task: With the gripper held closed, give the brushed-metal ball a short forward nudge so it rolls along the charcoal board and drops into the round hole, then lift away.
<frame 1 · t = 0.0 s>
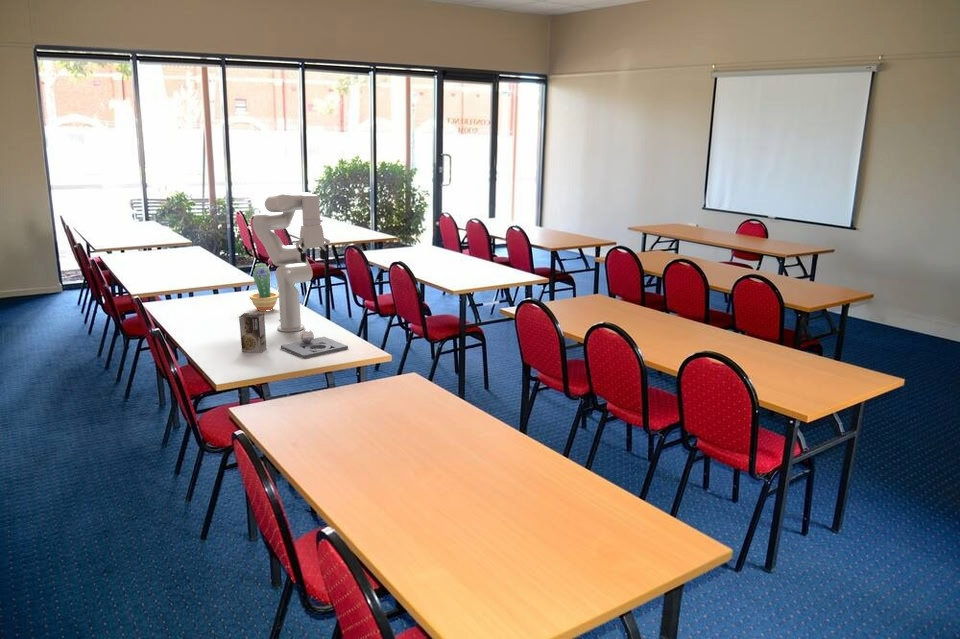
hand: (313, 260, 330), 37 cm above the table, tool pointing down, fingers open, 9 cm apart
coffee box: (254, 350, 321), on the table
hole board: (314, 348, 324), on the table
metal ball: (307, 336, 327), point 4 cm above the table, touching hole board
potted cactus: (265, 310, 393), on the table
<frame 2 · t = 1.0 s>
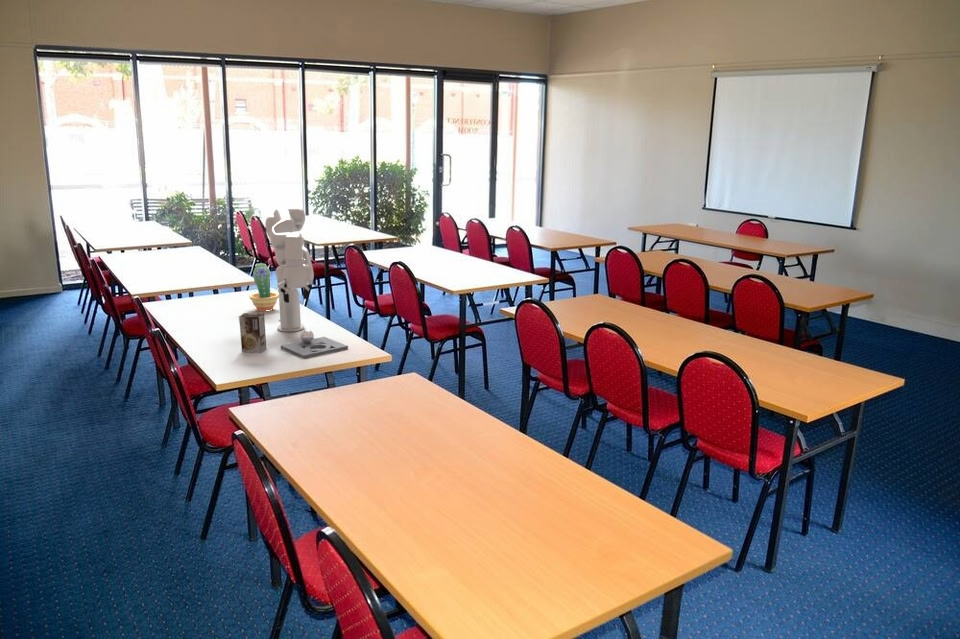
hand: (296, 300, 330), 19 cm above the table, tool pointing down, fingers open, 9 cm apart
nothing on the table moved.
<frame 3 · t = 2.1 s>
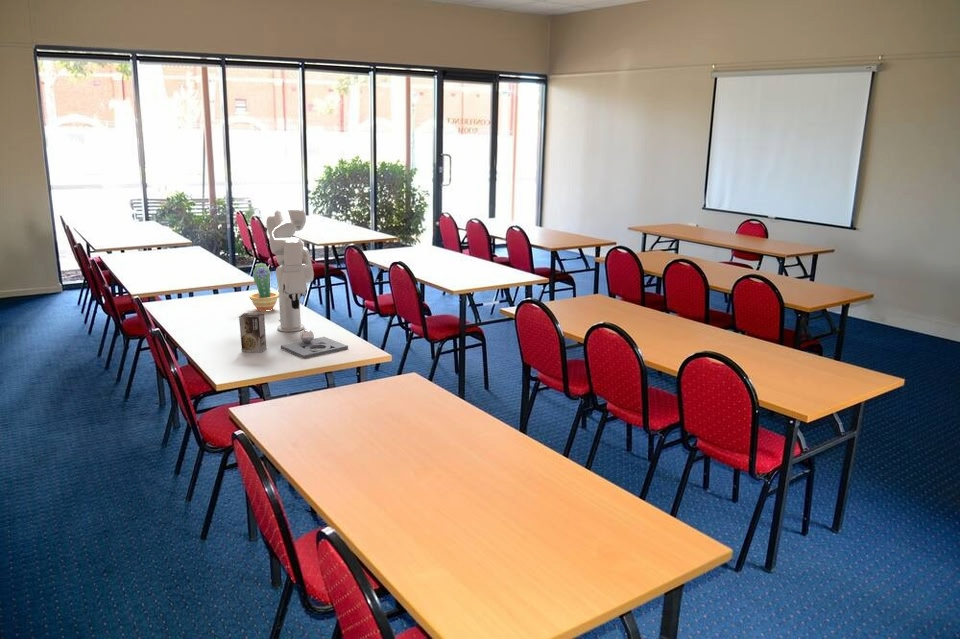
hand: (295, 308, 330), 16 cm above the table, tool pointing down, fingers closed
nothing on the table moved.
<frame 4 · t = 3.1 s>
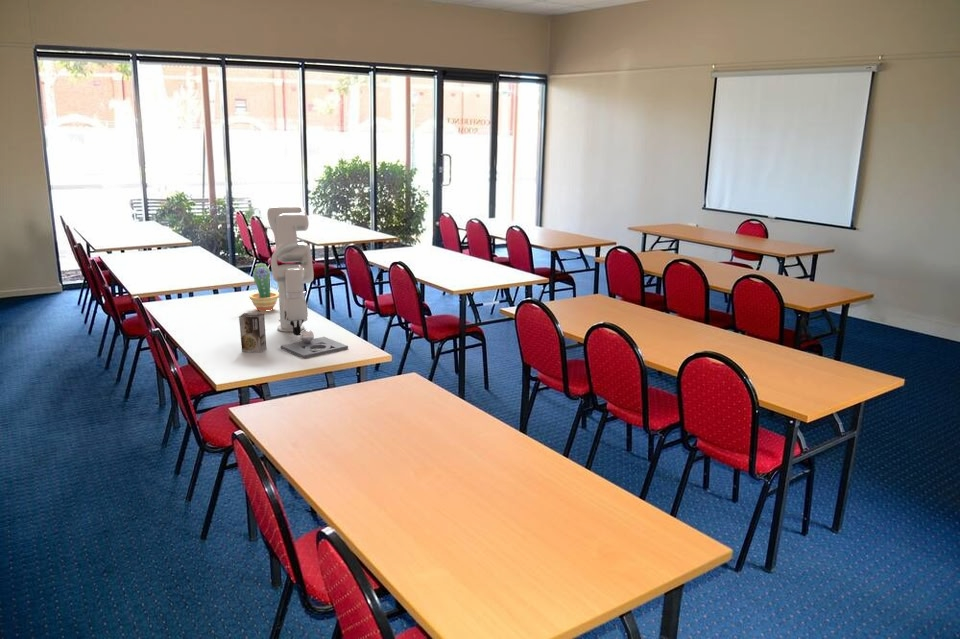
hand: (297, 334, 333), 3 cm above the table, tool pointing down, fingers closed
nothing on the table moved.
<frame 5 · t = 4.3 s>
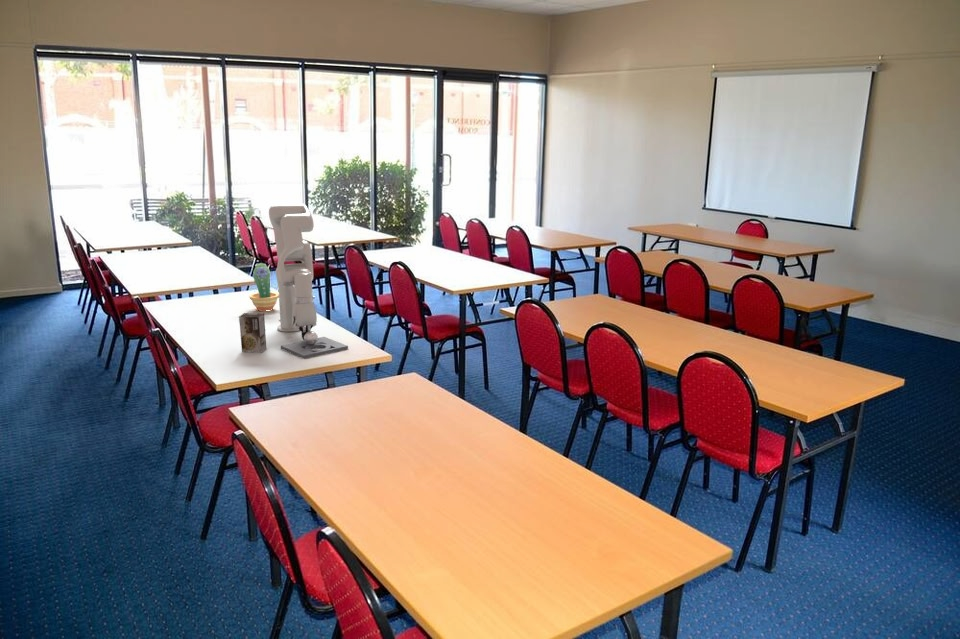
hand: (305, 340, 328), 3 cm above the table, tool pointing down, fingers closed
metal ball: (311, 338, 324), point 4 cm above the table, tilted 65°, touching hole board
everything else where it was.
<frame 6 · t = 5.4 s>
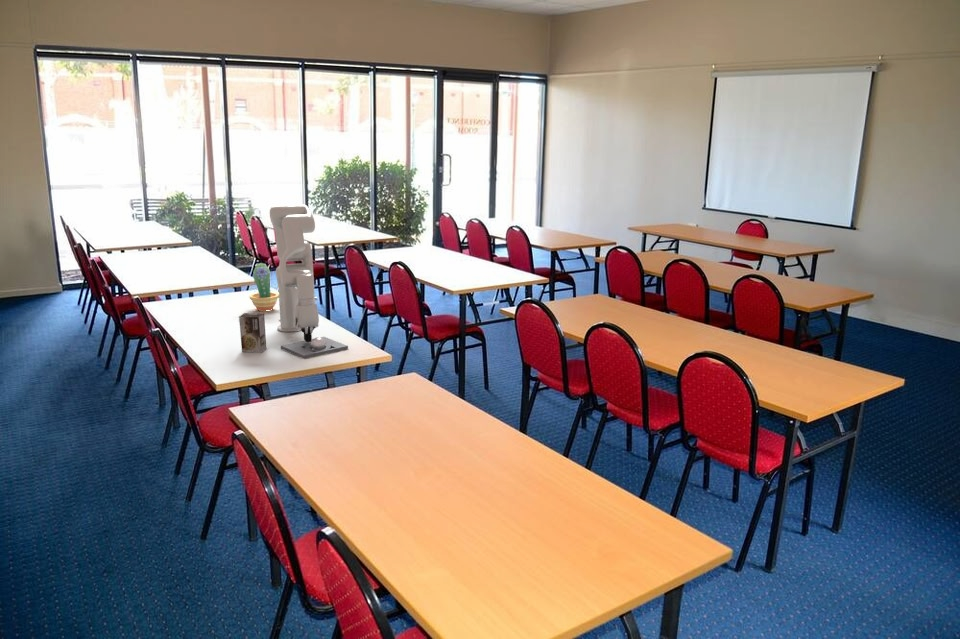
hand: (307, 341, 327), 2 cm above the table, tool pointing down, fingers closed
metal ball: (318, 344, 320), point 3 cm above the table, tilted 167°
everything else where it was.
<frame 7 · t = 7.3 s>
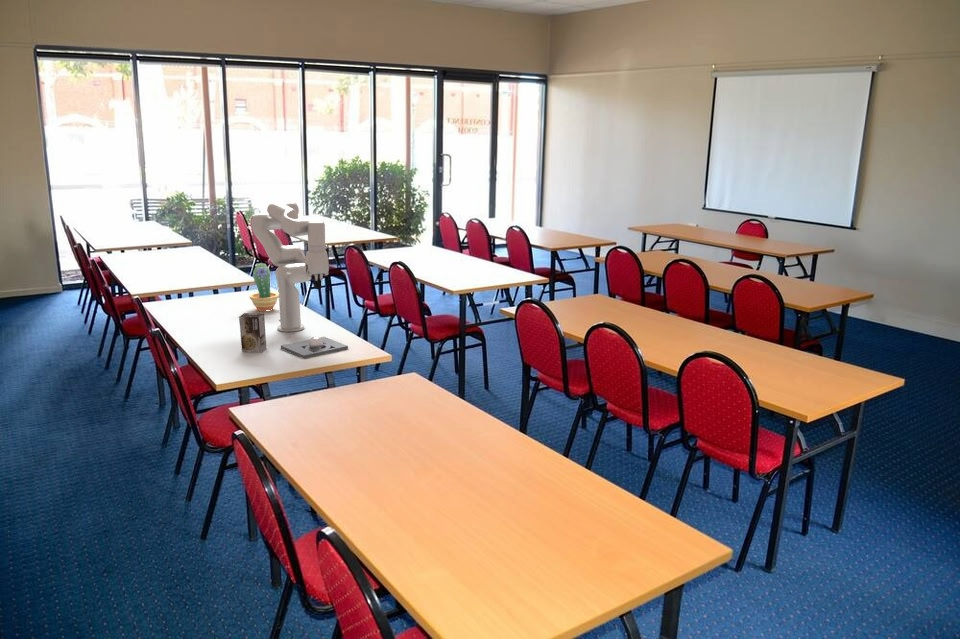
hand: (317, 288, 333), 24 cm above the table, tool pointing down, fingers closed
metal ball: (315, 343, 321), point 3 cm above the table, tilted 164°
everything else where it was.
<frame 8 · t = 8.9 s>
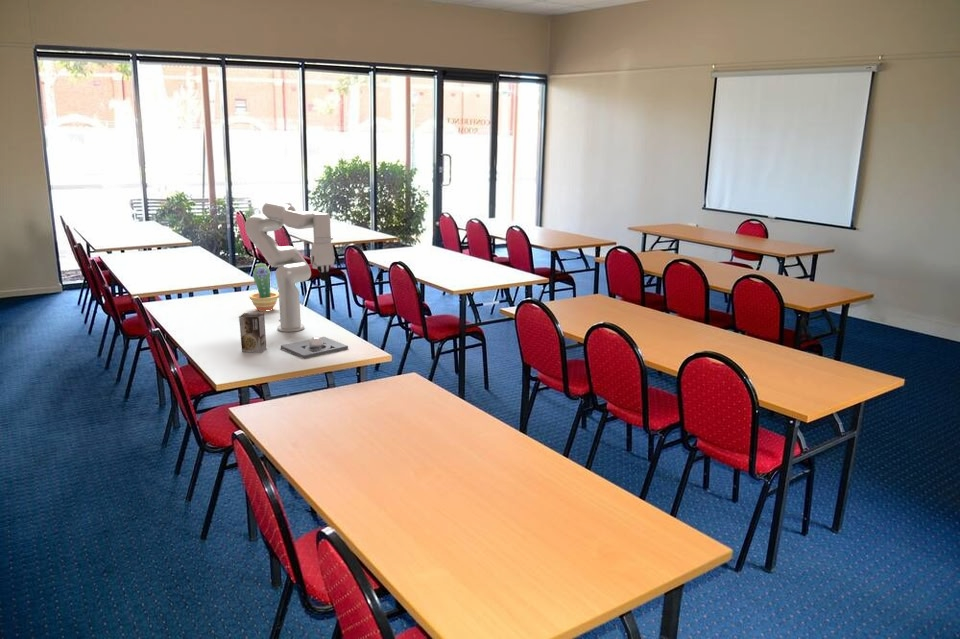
hand: (324, 280, 336), 27 cm above the table, tool pointing down, fingers closed
nothing on the table moved.
at the end: metal ball 0.6 cm from the target spot on the hole board, point 3.0 cm above the hole board's base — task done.
